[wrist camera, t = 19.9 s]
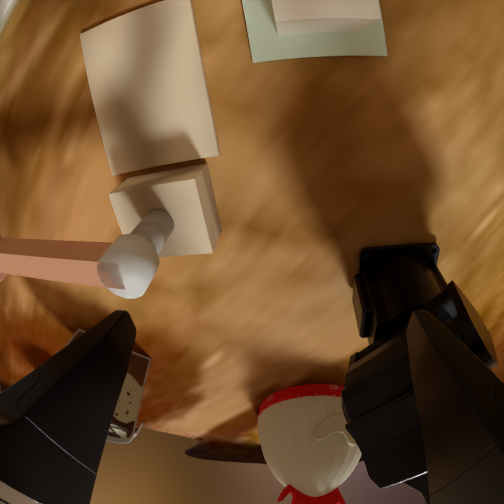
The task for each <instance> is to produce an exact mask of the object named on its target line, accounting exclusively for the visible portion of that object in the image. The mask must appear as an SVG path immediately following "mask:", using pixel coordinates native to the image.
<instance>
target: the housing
mask: <svg viewBox="0 0 504 504" xmlns="http://www.w3.org/2000/svg"><path fill="white" fill-rule="evenodd" d="M80 38H81V44H82V50H83V56H84V62H85V67H86V72H87V77H88V82H89V87H90V91H91V96H92V100H93V104H94V109H95V113H96V117H97V121H98V125H99V129H100V133H101V137H102V140H103V144H104V148H105V151H106V155H107V158H108V162H109V165H110V168H111V172H112V175H113V176H114V175H118V174H122V173H127V172H132V171H136V170H141V169H146V168H151V167H156V166H161V165H166V164H172V163H177V162H183V161H188V160H194V159H201V158H207V157H213V156H219V155H220V150H219V145H218V140H217V135H216V129H215V124H214V119H213V114H212V109H211V103H210V98H209V93H208V87H207V82H206V77H205V71H204V66H203V61H202V55H201V50H200V44H199V39H198V33H197V28H196V22H195V17H194V11H193V6H192V0H163V1H160V2H157V3H154V4H151V5H148V6H146V7H143V8H140V9H137V10H135V11H132V12H129V13H127V14H124V15H122V16H119V17H117V18H115V19H112V20H110V21H108V22H105V23H103V24H101V25H99V26H96V27H94V28H92V29H90V30H88V31H86V32H84V33H82V34H80ZM109 197H110V200H111V203H112V206H113V209H114V212H115V215H116V218H117V220H118V223H119V226H120V229H121V231H122V234H136V235H139V236H141V237H143V238H145V239H146V240H147V241H149V242H150V243H151V244H152V245H153V247H154V248H155V250H156V251H157V254H158V257H168V256H181V255H194V254H207V253H213V251H214V249H215V246H216V243H217V241H218V238H219V235H220V233H221V226H220V221H219V217H218V212H217V208H216V203H215V199H214V194H213V190H212V185H211V180H210V176H209V171H208V166H207V164H200V165H194V166H188V167H182V168H176V169H170V170H165V171H159V172H154V173H149V174H144V175H139V176H134V177H129V178H127V179H126V180H125V181H124V182H122V183H121V184H120V185H119V186H117V187H116V188H115V189H114V190H113V191H111V192H110V193H109Z"/></svg>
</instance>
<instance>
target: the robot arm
mask: <svg viewBox="0 0 504 504" xmlns="http://www.w3.org/2000/svg"><path fill="white" fill-rule="evenodd" d="M433 248H435V249H434V250H433V251H431V250H432V249H433ZM439 250H440V248H439V246H438V245H437V244H436V243H434V242H432V243H419V244H406V245H394V246H381V247H368V248H363V249H362V250H361V251H360V253H359V271H358V274H356V275H355V276H354V282H353V299H352V301H353V306H354V310H355V315H356V320H357V325H358V330H359V335H360V336H361V337H362V338H367V337H368V342H369V346H368V347H366V348H365V349H363V350H362V351H360V352H359V353H358V352H356V353H355V354H353V355H352V356H351V357H350V361H349V366H348V371H347V374H346V380H345V385H344V388H343V389H342V391H341V398H342V400H341V402H342V409H343V414H344V416H345V419H346V421H347V424H345V428H346V430H347V431H348V432H349V434H350V435H351V436H352V437H353V439H354V440H355V442H356V444H357V446H358V447H359V449H360V451H361V454H362V456H363V459H364V462H365V465H366V468H367V471H368V475H369V477H370V479H371V480H372V481H373V482H375V483H376V484H377V485H378V486H379V487H380V488H386V487H389V486H392V485H395V484H398V483H403V484H405V485H407V486H408V487H410V488H412V489H414V490H416V491H418V492H419V493H420V494H421V496H422V498H423V500H424V502H425V504H504V383H503V382H502V381H501V380H500V379H499V378H497V376H496V375H495V374H494V373H493V372H492V370H491V368H492V367H494V366H495V365H496V364H498V362H497V357H496V353H495V349H494V345H493V341H492V337H491V335H490V333H489V332H488V330H487V328H486V326H485V324H484V323H483V321H482V319H481V317H480V316H479V314H478V312H477V311H476V310H475V308H474V307H473V306H472V304H471V303H470V302H469V300H468V299H467V298H466V296H465V295H464V294H463V293H462V291H461V290H460V289H459V287H458V286H457V285H456V284H455V282H454V281H453V280H452V281H451V282H450V283H449V284H448V285H447V283H446V281H445V279H444V278H443V276H442V274H441V273H440V271H439V269H438V267H437V261H438V256H439ZM367 253H368V254H369V255H368V256H364V255H365V254H367ZM135 337H136V328H135V325H134V323H133V321H132V319H131V316H130V314H129V313H128V312H127V311H125V310H116V311H114V312H113V313H111V314H110V315H109V316H107V317H106V318H104V319H103V320H102V321H100V322H99V323H97V324H96V325H95V326H93V327H92V328H91V329H89V330H88V331H86V332H85V333H84V334H82V335H81V336H79V337H78V338H77V339H75V340H74V341H73V342H71V343H70V344H69V345H67V346H66V347H64V348H63V349H62V350H60V351H59V352H58V353H56V354H55V355H54V356H52V357H51V358H50V359H48V360H47V361H46V362H44V363H43V364H42V365H40V366H39V367H37V368H36V369H35V370H34V371H32V372H31V373H29V374H28V375H27V376H25V377H24V378H22V379H21V380H19V381H18V382H16V383H15V384H13V385H12V386H10V387H9V388H7V389H6V390H4V391H2V392H1V393H0V504H90V500H91V496H92V492H93V488H94V484H95V480H96V476H97V475H96V474H97V471H98V467H99V464H100V460H101V456H102V453H103V449H104V445H105V442H106V439H107V435H108V432H109V428H110V425H111V422H112V418H113V415H114V412H115V409H116V406H117V402H118V399H119V396H120V393H121V390H122V387H123V384H124V381H125V378H126V375H127V371H128V367H129V363H130V358H131V354H132V350H133V346H134V341H135Z"/></svg>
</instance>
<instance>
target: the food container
mask: <svg viewBox="0 0 504 504" xmlns="http://www.w3.org/2000/svg"><path fill="white" fill-rule="evenodd" d="M85 332H86V331H84V330H82V329H78V330H77V331H76V332H75V334H74V335H73V336H72V338H71V339H70V340H69V341H68V343H67V344H66V345H65V347H66V346H67V345H69V344H70V343H71V342H73V341H74V340H75V339H77V338H78V337H79V336H81V335H82V334H84V333H85ZM151 359H152V358H149V357H146V356H144V355H141V354H138V353H136V352H133V351H132V354H131V358H130V363H129V367H128V371H127V375H126V378H125V381H124V384H123V387H122V390H121V393H120V396H119V399H118V402H117V406H116V409H115V412H114V415H113V418H112V422H111V425H110V428H109V432H108V435H107V439H106V441H108V442H113V443H121V444H123V443H129V442H130V441H132V439H133V438H134V437H136V435H137V433H138V432H139V430H140V429H141V427H142V425H143V423H141V425H140V426H139V427H138V428H136V429H135V427H136V422H137V418H138V413H139V409H140V404H141V400H142V396H143V391H144V387H145V383H146V379H147V375H148V371H149V367H150V363H151Z"/></svg>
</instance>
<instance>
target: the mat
mask: <svg viewBox="0 0 504 504" xmlns="http://www.w3.org/2000/svg"><path fill="white" fill-rule="evenodd" d="M242 4H243V9H244V15H245V20H246V26H247V31H248V37H249V43H250V49H251V54H252V60H253V63H257V62H265V61H273V60H282V59H293V58H305V57H322V56H387V48H386V40H385V33H384V26H383V20H382V14H381V9H380V3H379V0H378V4H379V9H380V15H381V20H379V21H377V22H375V23H373V24H371V25H369V26H367V27H365V28H363V29H361V30H359V31H357V32H313V33H298V34H286V35H278V32H277V27H276V22H275V17H274V11H273V6H272V0H242Z"/></svg>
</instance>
